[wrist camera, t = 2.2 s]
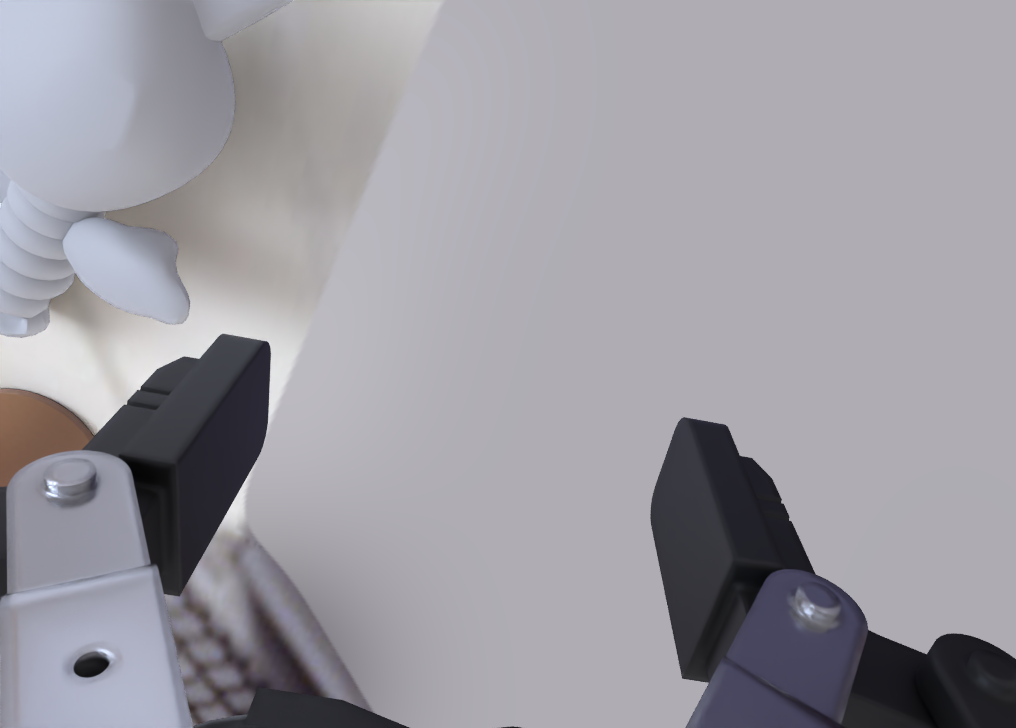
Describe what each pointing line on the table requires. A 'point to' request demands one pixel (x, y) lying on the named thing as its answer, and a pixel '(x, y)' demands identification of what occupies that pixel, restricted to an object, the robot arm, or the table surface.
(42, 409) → the cork coaster
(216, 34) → the toy creature
